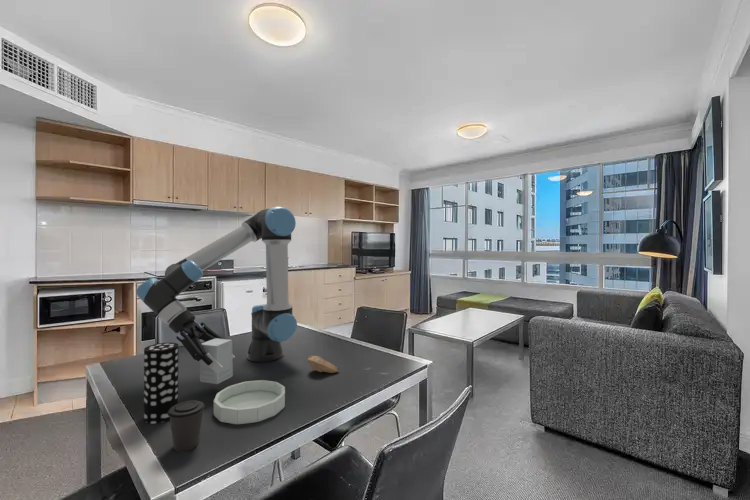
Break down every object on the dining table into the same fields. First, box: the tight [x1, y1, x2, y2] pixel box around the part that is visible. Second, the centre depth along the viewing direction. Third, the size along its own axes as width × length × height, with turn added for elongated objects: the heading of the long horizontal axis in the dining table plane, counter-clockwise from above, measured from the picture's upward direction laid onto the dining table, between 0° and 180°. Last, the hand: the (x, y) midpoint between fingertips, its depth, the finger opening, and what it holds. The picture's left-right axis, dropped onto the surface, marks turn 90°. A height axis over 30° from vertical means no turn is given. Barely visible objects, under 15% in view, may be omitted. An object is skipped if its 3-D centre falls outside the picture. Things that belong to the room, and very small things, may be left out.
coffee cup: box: [167, 400, 206, 452], centre depth 83 cm, size 8×8×10 cm
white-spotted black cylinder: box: [143, 342, 179, 425], centre depth 97 cm, size 8×8×20 cm
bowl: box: [213, 379, 286, 425], centre depth 103 cm, size 20×20×4 cm
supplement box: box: [199, 338, 234, 385], centre depth 113 cm, size 7×7×13 cm
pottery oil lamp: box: [306, 354, 339, 374], centre depth 130 cm, size 9×12×7 cm
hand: (226, 364), depth 113 cm, fingers closed on supplement box, 9 cm apart
